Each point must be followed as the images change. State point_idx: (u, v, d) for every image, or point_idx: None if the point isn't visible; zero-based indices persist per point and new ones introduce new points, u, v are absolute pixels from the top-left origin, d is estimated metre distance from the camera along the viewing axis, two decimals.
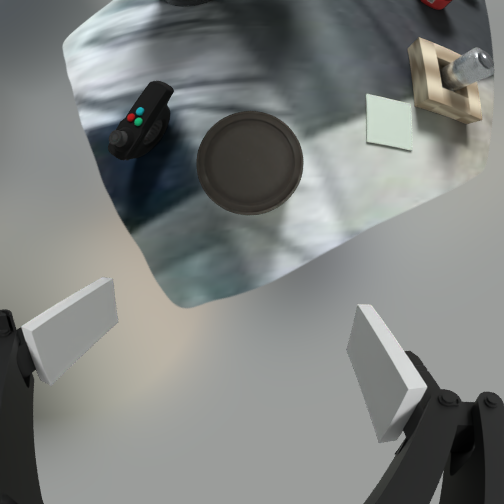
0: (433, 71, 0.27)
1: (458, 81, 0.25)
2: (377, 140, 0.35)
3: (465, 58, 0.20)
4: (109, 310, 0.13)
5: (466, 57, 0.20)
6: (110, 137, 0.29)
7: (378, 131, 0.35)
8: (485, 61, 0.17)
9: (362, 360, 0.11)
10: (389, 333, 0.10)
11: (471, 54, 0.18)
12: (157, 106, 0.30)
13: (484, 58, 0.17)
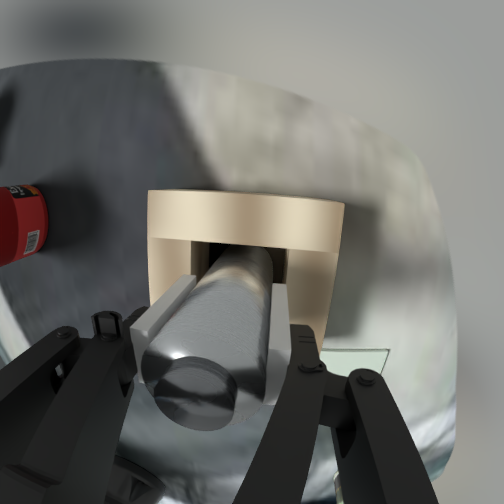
0: None
1: None
2: None
3: None
4: None
5: None
6: None
7: None
8: (215, 422, 0.07)
9: None
10: (285, 306, 0.12)
11: None
12: None
13: (203, 423, 0.07)
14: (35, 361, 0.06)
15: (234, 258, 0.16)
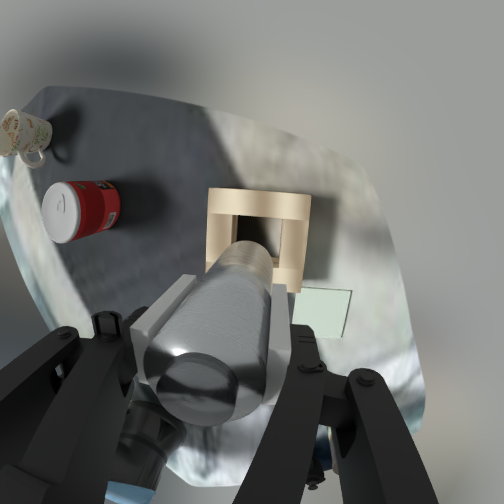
0: None
1: None
2: (339, 328, 0.39)
3: None
4: None
5: None
6: (311, 489, 0.38)
7: (330, 327, 0.39)
8: (216, 417, 0.08)
9: None
10: (285, 306, 0.12)
11: None
12: None
13: (204, 418, 0.08)
14: (35, 361, 0.06)
15: (234, 257, 0.16)
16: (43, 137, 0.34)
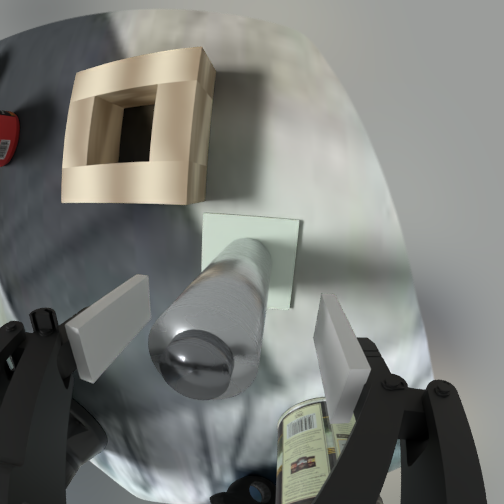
0: (119, 180, 0.18)
1: None
2: (285, 292, 0.24)
3: None
4: (144, 307, 0.14)
5: None
6: None
7: None
8: (213, 390, 0.09)
9: (322, 346, 0.12)
10: (345, 319, 0.11)
11: None
12: None
13: (202, 391, 0.09)
14: None
15: (234, 251, 0.18)
16: None
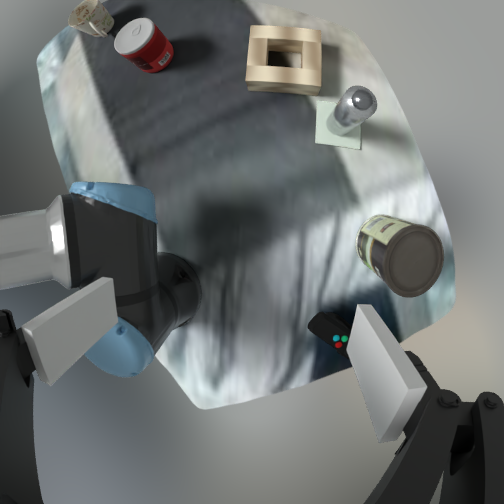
0: (287, 74, 0.36)
1: None
2: (357, 139, 0.42)
3: (355, 120, 0.30)
4: (109, 310, 0.13)
5: (355, 119, 0.30)
6: None
7: (349, 137, 0.42)
8: (368, 104, 0.27)
9: (362, 360, 0.11)
10: (389, 333, 0.10)
11: (359, 117, 0.29)
12: (335, 324, 0.42)
13: (365, 105, 0.27)
14: None
15: None
16: (108, 22, 0.36)
